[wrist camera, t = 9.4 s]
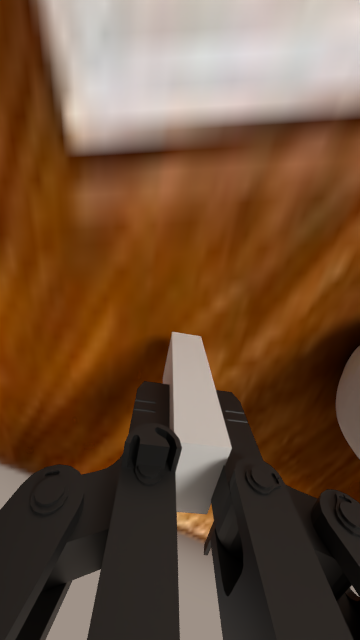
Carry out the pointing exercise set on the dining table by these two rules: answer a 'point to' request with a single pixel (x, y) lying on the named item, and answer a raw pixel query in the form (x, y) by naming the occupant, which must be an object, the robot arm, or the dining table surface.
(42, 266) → the dining table surface
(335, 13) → the dining table surface
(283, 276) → the dining table surface
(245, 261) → the dining table surface
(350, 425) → the teacup
